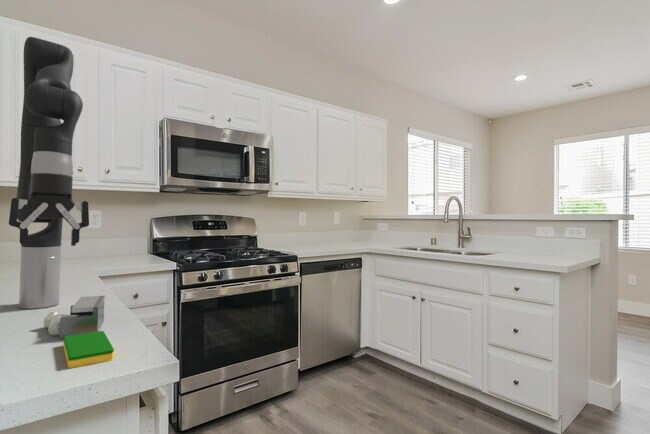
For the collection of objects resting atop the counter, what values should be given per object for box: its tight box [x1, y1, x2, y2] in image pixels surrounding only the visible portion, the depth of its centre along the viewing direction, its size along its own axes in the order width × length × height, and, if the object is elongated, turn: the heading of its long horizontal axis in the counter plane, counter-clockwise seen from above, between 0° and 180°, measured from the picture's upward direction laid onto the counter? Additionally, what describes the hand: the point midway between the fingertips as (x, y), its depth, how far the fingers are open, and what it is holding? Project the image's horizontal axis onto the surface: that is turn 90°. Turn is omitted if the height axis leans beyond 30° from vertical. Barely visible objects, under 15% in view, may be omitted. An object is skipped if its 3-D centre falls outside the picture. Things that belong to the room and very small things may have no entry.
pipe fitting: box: [43, 312, 79, 337], centre depth 84 cm, size 8×4×7 cm
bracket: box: [59, 295, 105, 340], centre depth 86 cm, size 12×7×6 cm, turn 25°
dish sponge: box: [62, 330, 115, 369], centre depth 72 cm, size 7×14×2 cm, turn 39°
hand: (50, 246), depth 81 cm, fingers open, 8 cm apart
